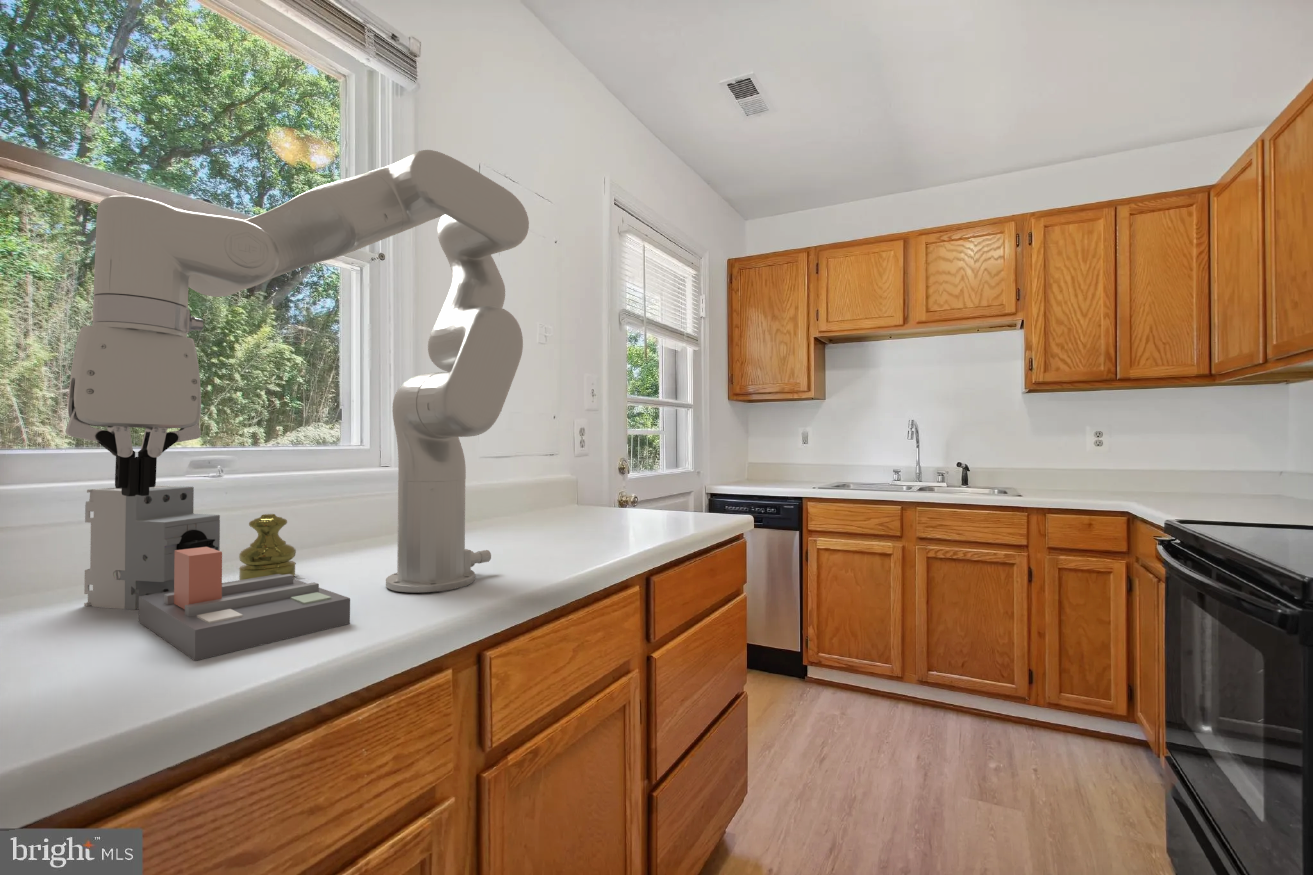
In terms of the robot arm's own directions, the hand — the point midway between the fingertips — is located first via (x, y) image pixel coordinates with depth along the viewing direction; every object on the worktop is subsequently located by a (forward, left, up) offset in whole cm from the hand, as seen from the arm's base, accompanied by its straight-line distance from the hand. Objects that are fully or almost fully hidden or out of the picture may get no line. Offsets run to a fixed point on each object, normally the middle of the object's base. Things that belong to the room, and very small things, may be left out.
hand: (135, 494), depth 62 cm
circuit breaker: (-7, -19, -16) cm, 26 cm away
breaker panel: (-10, 0, -16) cm, 19 cm away
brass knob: (-20, -22, -16) cm, 34 cm away
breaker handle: (-5, 0, -13) cm, 14 cm away
